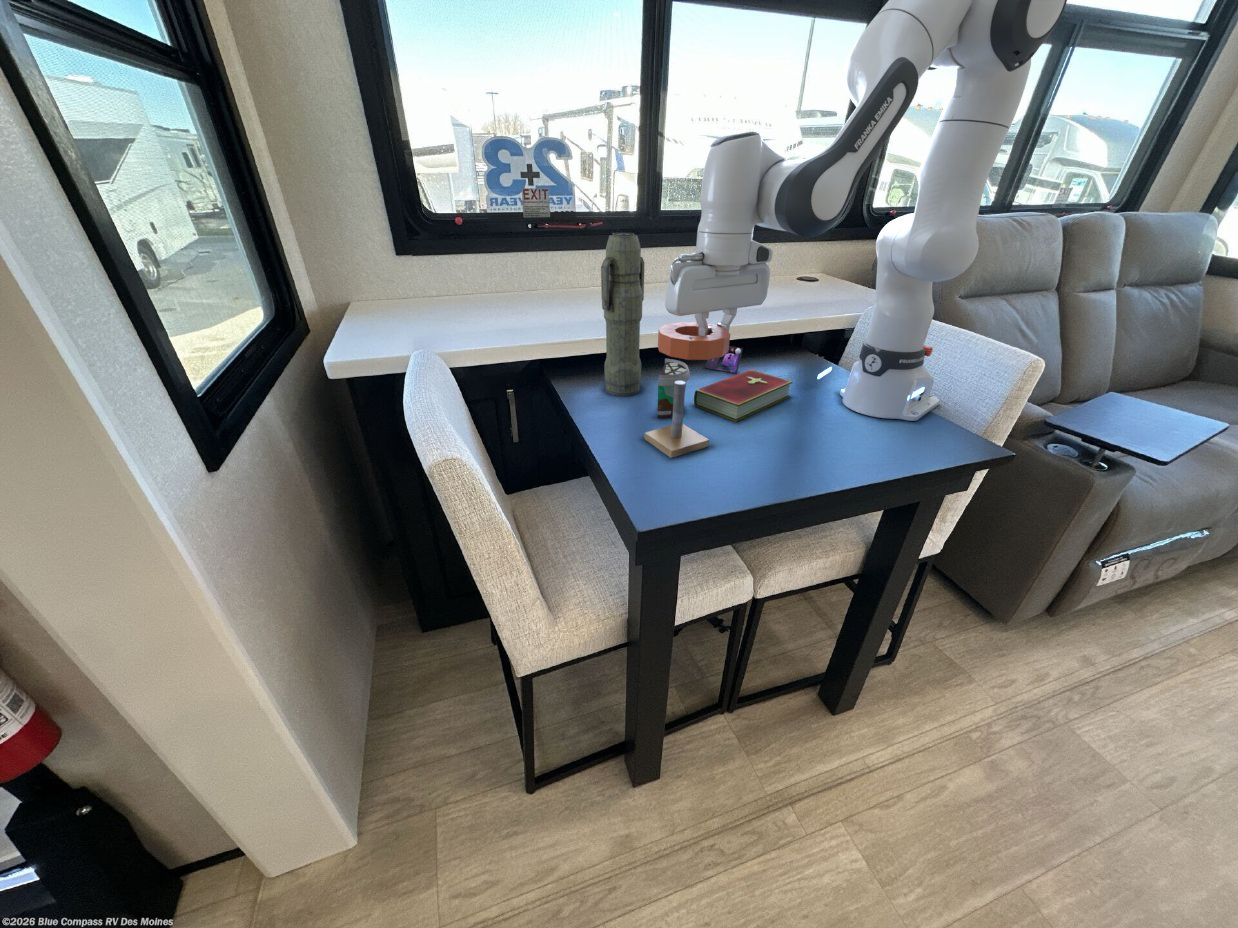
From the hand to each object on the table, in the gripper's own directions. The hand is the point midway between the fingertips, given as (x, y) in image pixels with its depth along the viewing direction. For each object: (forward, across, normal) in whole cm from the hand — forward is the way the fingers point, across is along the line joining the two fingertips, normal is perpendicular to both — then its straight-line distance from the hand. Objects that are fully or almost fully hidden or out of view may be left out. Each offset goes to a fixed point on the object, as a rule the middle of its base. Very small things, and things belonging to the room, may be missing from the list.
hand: (713, 335), depth 86 cm
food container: (+21, +4, +14) cm, 26 cm away
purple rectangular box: (+21, +33, +30) cm, 49 cm away
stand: (+21, -6, +1) cm, 21 cm away
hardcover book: (+21, +20, +10) cm, 31 cm away
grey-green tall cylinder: (+21, +1, +31) cm, 38 cm away
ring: (+2, -5, 0) cm, 5 cm away
